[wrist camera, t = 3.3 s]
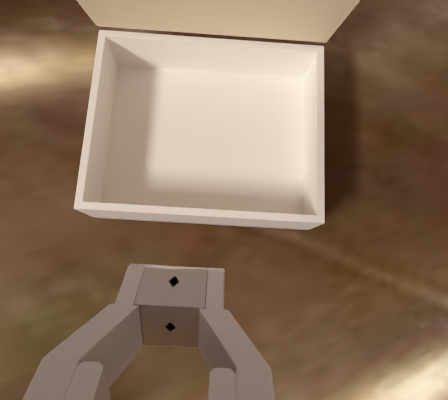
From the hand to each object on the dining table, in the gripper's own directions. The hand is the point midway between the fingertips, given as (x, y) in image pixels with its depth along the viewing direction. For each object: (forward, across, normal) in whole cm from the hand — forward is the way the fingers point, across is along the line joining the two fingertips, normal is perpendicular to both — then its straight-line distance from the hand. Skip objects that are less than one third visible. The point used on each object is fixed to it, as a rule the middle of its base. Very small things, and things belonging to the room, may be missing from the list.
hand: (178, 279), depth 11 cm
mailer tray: (+24, 0, +6) cm, 24 cm away
